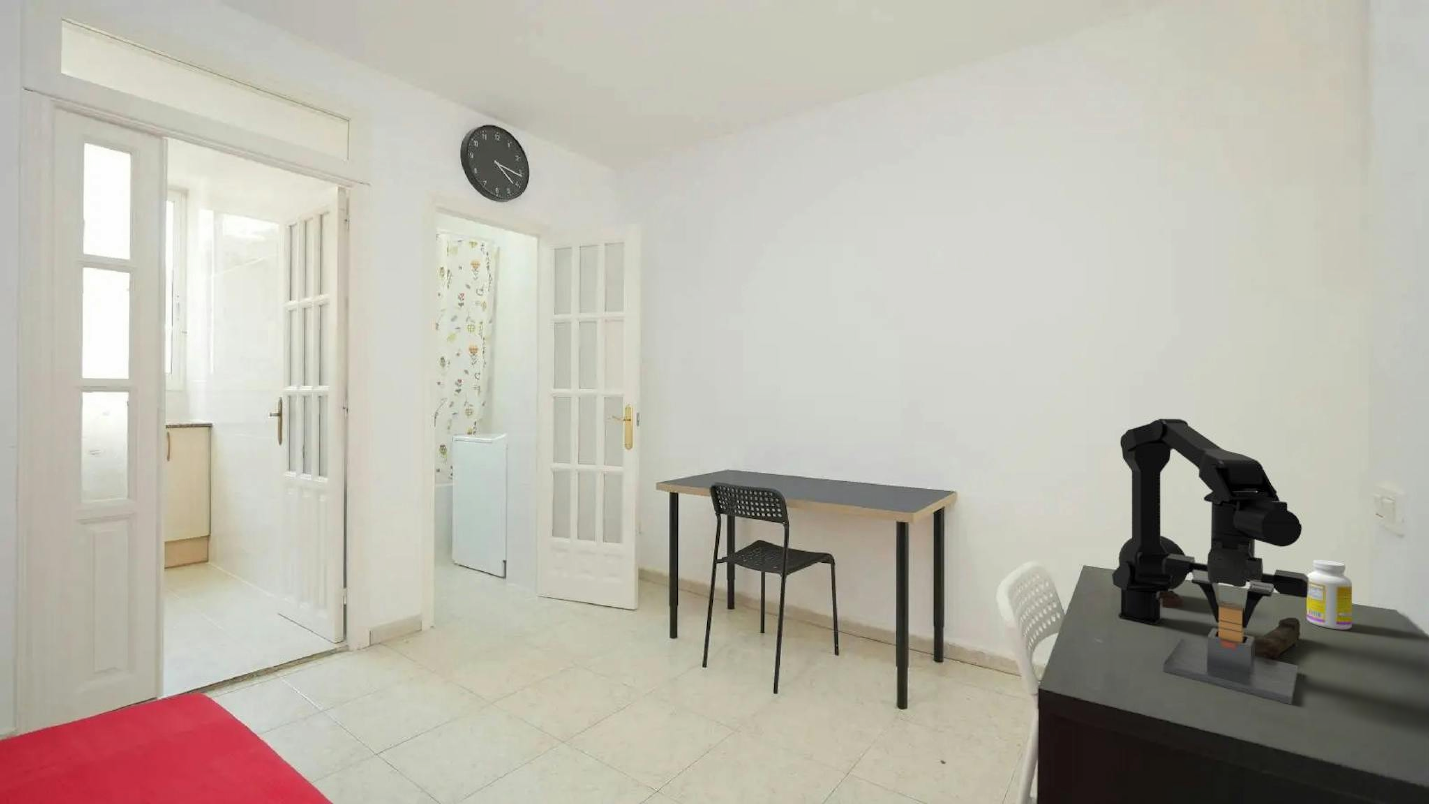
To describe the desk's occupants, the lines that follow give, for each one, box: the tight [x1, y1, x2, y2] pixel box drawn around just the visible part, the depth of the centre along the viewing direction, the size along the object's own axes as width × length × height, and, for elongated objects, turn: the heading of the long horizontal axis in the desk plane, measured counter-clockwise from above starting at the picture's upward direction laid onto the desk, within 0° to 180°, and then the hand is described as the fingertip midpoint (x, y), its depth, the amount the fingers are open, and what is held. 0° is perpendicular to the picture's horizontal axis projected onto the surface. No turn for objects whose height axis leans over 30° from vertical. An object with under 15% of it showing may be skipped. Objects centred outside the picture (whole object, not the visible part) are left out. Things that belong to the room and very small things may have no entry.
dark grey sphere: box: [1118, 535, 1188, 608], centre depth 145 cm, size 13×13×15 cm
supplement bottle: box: [1306, 559, 1353, 631], centre depth 130 cm, size 7×7×13 cm
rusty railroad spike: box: [1254, 617, 1301, 661], centre depth 117 cm, size 19×4×5 cm, turn 121°
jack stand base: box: [1162, 627, 1299, 705], centre depth 107 cm, size 16×16×6 cm
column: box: [1217, 602, 1245, 643], centre depth 106 cm, size 3×3×10 cm
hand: (1231, 624), depth 106 cm, fingers closed on column, 3 cm apart
